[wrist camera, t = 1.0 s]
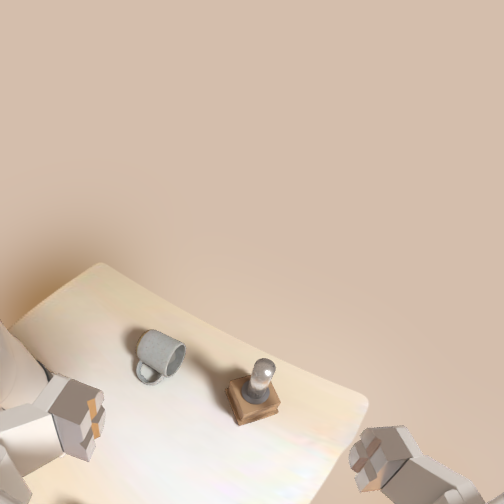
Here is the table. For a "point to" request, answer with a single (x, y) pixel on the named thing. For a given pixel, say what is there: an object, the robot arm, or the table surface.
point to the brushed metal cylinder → (260, 378)
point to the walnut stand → (251, 402)
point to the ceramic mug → (159, 354)
